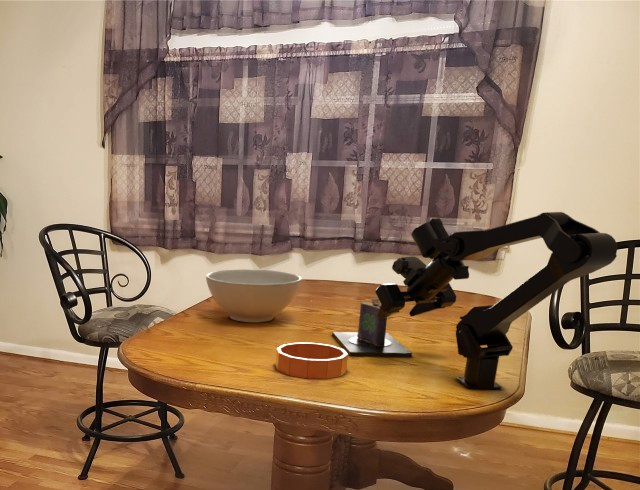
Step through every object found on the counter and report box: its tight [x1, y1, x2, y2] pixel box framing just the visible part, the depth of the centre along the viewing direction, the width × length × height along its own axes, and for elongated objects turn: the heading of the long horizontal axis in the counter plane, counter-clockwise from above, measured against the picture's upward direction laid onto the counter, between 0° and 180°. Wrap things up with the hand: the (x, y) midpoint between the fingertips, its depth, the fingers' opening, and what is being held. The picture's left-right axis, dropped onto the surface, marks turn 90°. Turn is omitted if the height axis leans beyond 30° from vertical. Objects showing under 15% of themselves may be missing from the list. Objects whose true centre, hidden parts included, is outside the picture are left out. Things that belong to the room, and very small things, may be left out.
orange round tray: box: [274, 342, 349, 380], centre depth 149 cm, size 15×15×4 cm
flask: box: [357, 297, 388, 346], centre depth 166 cm, size 9×3×11 cm, turn 17°
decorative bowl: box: [205, 268, 303, 323], centre depth 197 cm, size 27×27×12 cm
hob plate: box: [331, 331, 413, 358], centre depth 168 cm, size 20×14×1 cm
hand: (394, 316), depth 159 cm, fingers open, 9 cm apart
